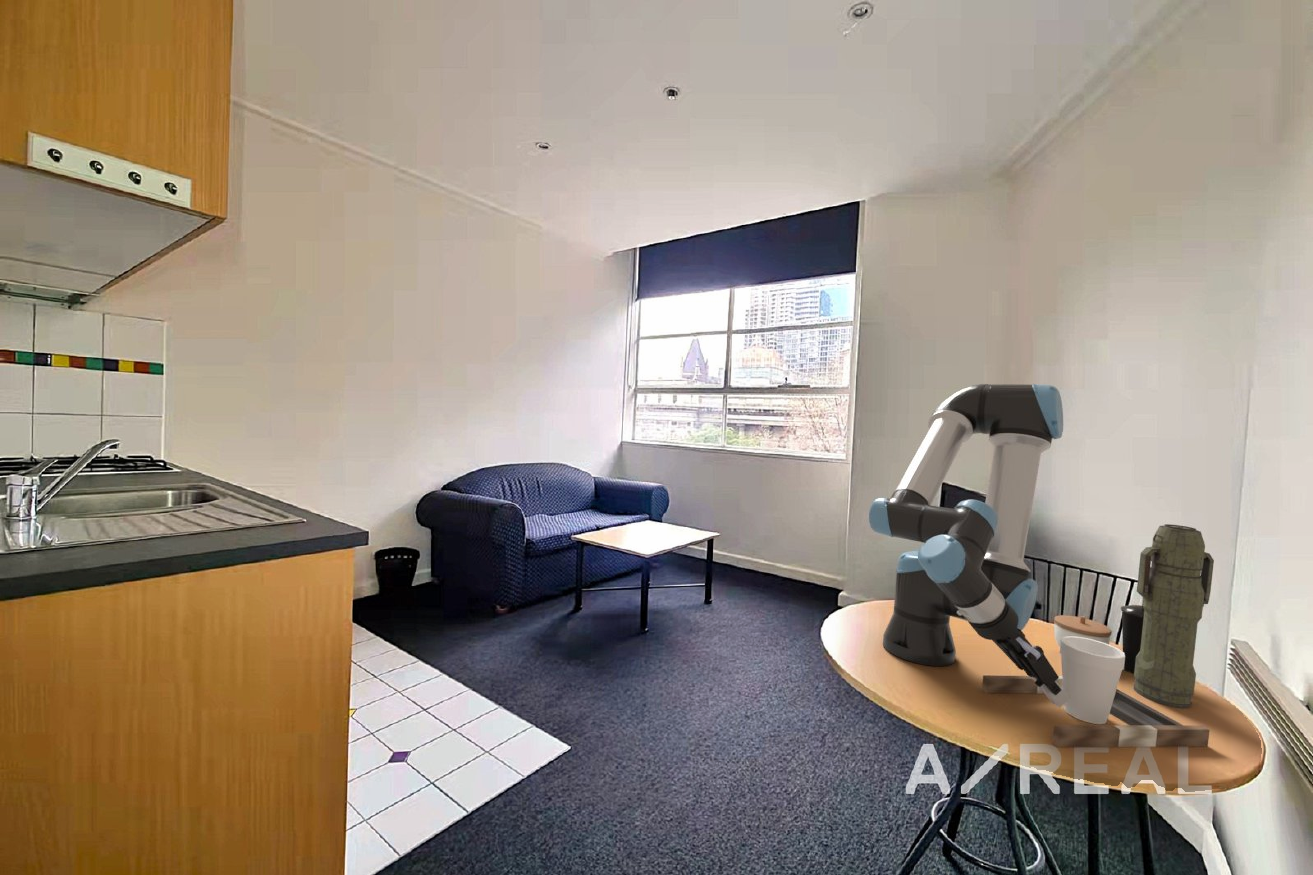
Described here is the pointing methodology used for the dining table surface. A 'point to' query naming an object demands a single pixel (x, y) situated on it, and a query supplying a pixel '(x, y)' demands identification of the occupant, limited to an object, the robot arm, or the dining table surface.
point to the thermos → (1171, 613)
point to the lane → (1141, 731)
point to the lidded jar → (1080, 629)
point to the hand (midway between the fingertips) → (1061, 700)
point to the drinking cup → (1131, 634)
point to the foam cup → (1090, 677)
